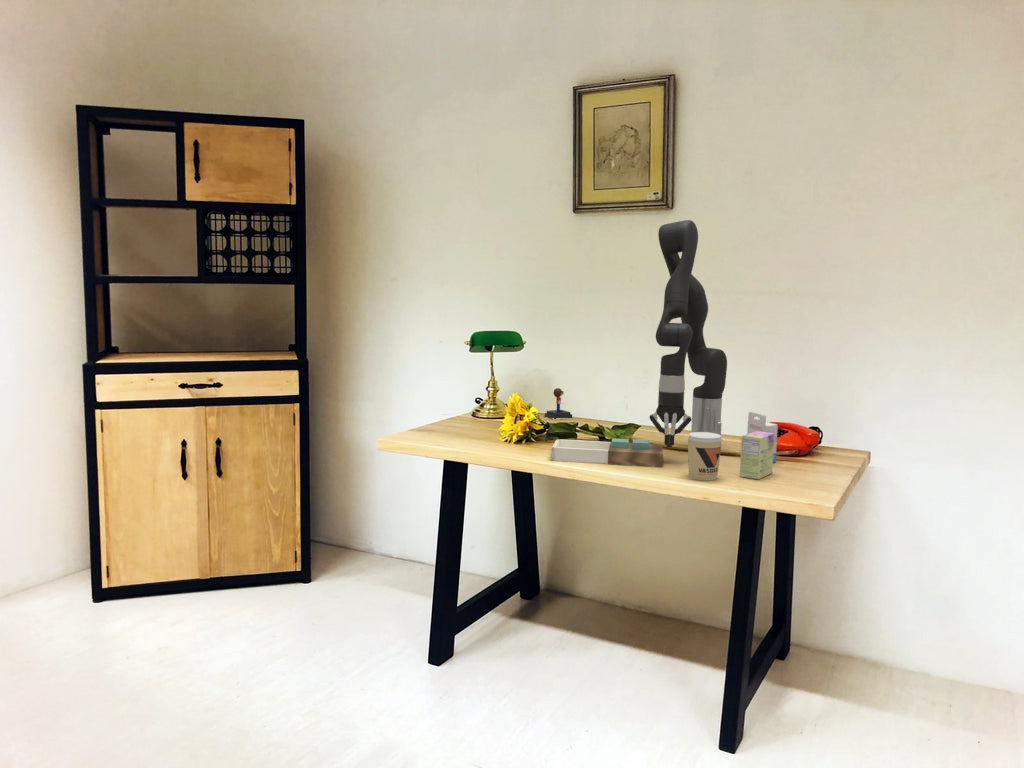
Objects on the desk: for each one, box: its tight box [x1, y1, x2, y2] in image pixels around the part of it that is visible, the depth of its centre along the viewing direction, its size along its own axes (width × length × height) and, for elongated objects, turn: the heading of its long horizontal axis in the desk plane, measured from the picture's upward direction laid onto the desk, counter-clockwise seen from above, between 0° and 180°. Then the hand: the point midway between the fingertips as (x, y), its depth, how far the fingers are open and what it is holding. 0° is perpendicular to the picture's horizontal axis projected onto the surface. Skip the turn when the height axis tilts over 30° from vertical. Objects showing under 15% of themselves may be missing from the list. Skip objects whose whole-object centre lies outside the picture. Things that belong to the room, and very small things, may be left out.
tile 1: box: [611, 437, 630, 449], centre depth 232 cm, size 5×5×2 cm
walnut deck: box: [607, 441, 664, 468], centre depth 232 cm, size 16×14×4 cm
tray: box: [551, 438, 612, 465], centre depth 235 cm, size 17×13×4 cm
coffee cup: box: [687, 432, 723, 481], centre depth 212 cm, size 9×9×12 cm
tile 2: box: [632, 439, 651, 450], centre depth 231 cm, size 5×5×2 cm
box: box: [739, 431, 774, 480], centre depth 216 cm, size 10×6×12 cm, turn 141°
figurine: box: [544, 387, 573, 419], centre depth 304 cm, size 8×8×12 cm
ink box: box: [746, 411, 779, 463], centre depth 234 cm, size 9×5×15 cm, turn 21°
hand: (668, 446), depth 230 cm, fingers closed
